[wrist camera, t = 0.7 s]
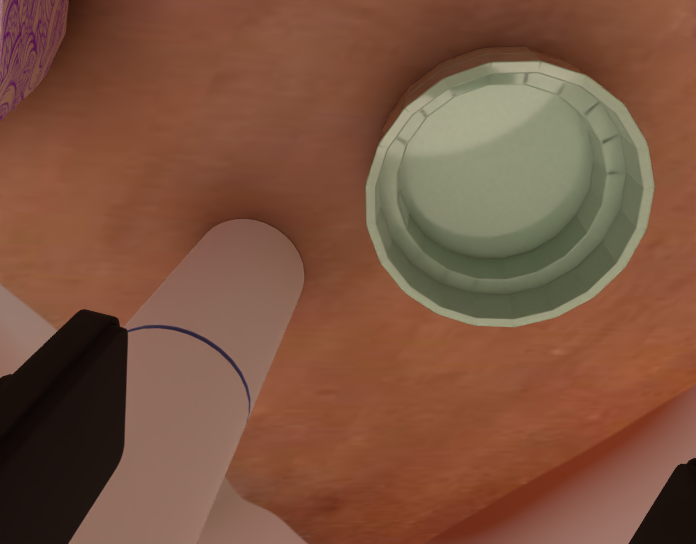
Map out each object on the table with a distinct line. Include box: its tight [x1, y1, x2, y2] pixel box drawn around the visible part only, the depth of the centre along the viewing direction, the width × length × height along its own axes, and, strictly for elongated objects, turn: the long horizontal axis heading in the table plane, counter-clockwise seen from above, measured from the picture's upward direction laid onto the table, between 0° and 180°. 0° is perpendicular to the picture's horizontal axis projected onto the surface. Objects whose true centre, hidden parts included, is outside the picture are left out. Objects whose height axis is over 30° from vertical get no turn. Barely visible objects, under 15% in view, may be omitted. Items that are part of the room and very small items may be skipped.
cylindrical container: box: [69, 219, 305, 544], centre depth 27 cm, size 7×7×25 cm
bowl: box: [365, 47, 655, 327], centre depth 31 cm, size 13×13×6 cm
